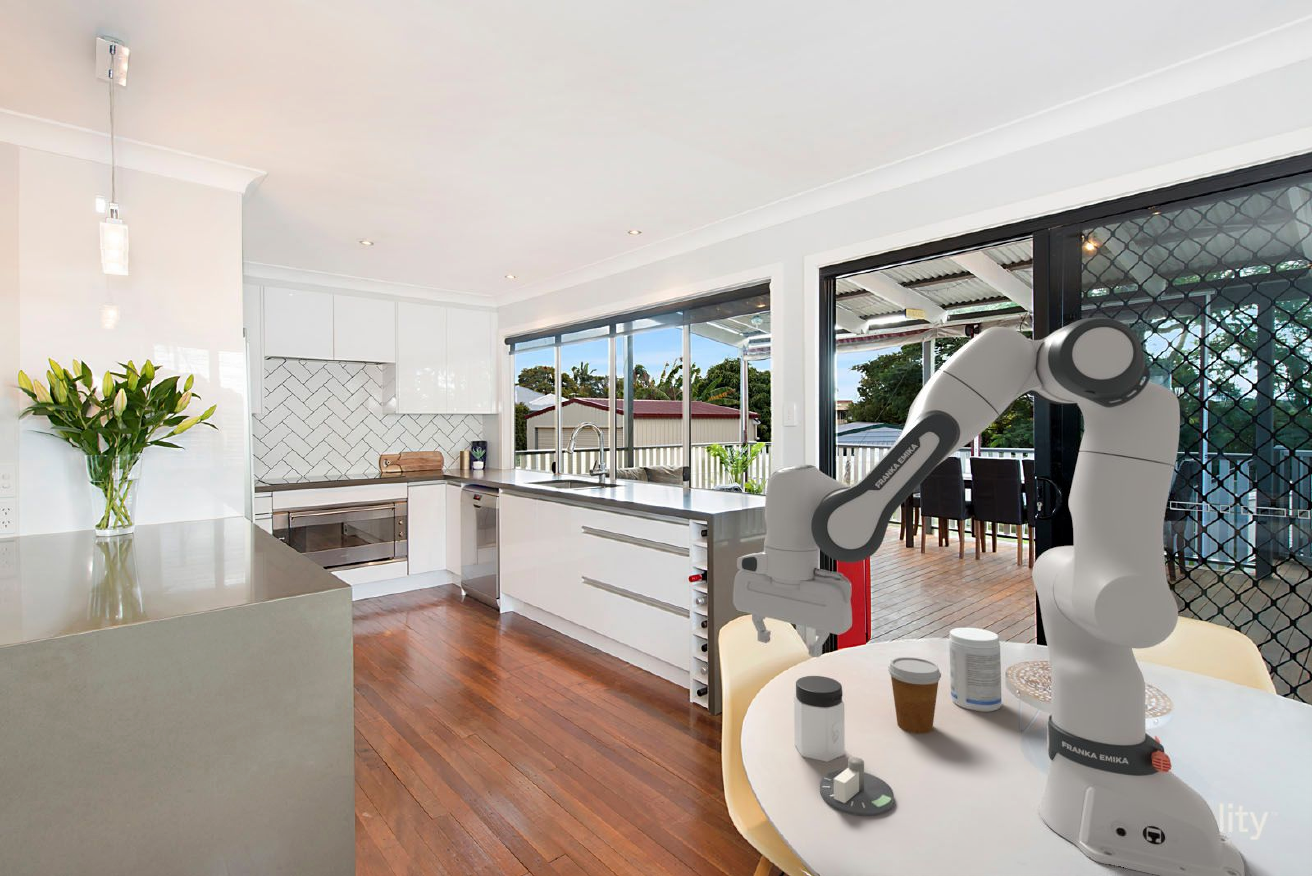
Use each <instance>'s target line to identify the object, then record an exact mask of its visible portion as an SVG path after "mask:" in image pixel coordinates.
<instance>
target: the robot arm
mask: <svg viewBox="0 0 1312 876" xmlns="http://www.w3.org/2000/svg"><path fill="white" fill-rule="evenodd" d="M1144 354H1145V353H1144V350H1143V346H1142V343H1141V341H1140V339H1139V337H1138V335H1137V334H1136V332H1135V331H1134V330H1133V329H1132V328H1131V327H1130V326H1128V325H1127V324H1126V323H1124V322H1122V321H1120V320H1117V319H1113V318H1108V317H1088V318H1087V317H1086V318H1082V319H1079V320H1075V321H1074V322H1071V323H1069V324H1068V325H1066V326H1063V327H1061V328H1059V329H1057V330H1054V331H1053V332H1052V333H1050V334H1049V335H1048V336H1046V337H1044V338H1042V339H1036V340H1035V339H1031V338H1027V337H1026V336H1025V335H1024V334H1023V333H1021V332H1019V331H1017V330H1015V329H1013V328H1010V327H1006V326H991V327H989V328H986V329H984V330H982V331H981V332H979V333H977V334H976V336H974V337H973V338H971V339H970V340H969V341H968V342H966V343H965V344H964V345H962V346H961V347H960V348H958V350H956V351H955V352H954V353H953V354H952V355H951V356H950V357H949V358H948V359H947V360H946V361H945V362H944V363H943V364H942V365H941V366H940V367H939V368H938V369H937V370H936V371H935V372H934V373H933V374H932V376H931V377H930V378H929V379H928V380H927V381H926V383H925V384H924V385H923V387H922V388H921V390H920V391H919V392H918V393H917V395H916V397H915V399H914V400H913V402H912V403H911V405H910V407H909V411H908V414H907V418H906V422H905V424H904V426H903V429H902V431H901V433H900V435H899V436H898V438H897V439H896V441H895V442H894V443H893V444H892V445H891V447H890V448H889V449H888V450H887V451H886V453H884V454H883V456H881V458H880V459H879V460H878V461H877V463H875V464H874V465H873V466H872V468H871V469H870V470H869V471H868V472H867V473H866V474H865V475H864V476H863V477H862V479H861V480H859V481H858V482H857V483H855V484H854V485H852V486H851V485H849V484H846V483H844V482H840V481H838V480H837V479H835V478H833V477H831V476H828V474H825V473H823V472H822V471H821V470H819V468H817V466H815V465H812V464H804V465H803V464H800V465H799V464H798V465H793V466H786V467H781V468H779V469H777V470H775V471H774V472H773V473H772V474H771V475H770V477H769V478H768V481H767V485H766V491H765V492H766V493H765V504H764V506H765V507H764V521H765V526H766V534H765V538H764V542H763V550H759V551H756V552H753V553H749V554H746V555H745V554H744V555H742V556H740V557H738V558H737V560H736V567H737V569H738V572H736V574H735V576H734V582H733V592H732V602H733V603H732V604H733V606H734V607H735V609H736V610H737V611H739V612H743V613H747V614H751V620H752V623H753V625H754V627H755V630H756V632H757V641H758V642H760V643H764V644H767V643H770V641H771V632H772V631H771V630H769V629H767V627H766V625H765V622H764V620H765V619H767V618H768V619H772V620H776V621H781V622H784V623H788V624H793V625H795V626H801V627H804V628H808V629H809V628H810V629H812V630H814V633H815V634H814V635H815V636H816V637H817V639H816V641H813V642H812V643H810V644H808V655H809V656H811V657H815V658H820V657H821V656H822V655H823V645H824V644H825V642H826V641H827V639H828V637H829V636H830V634H833V635H838V636H839V635H842V634H844V633H846V632H847V631H849V629H851V628H852V625H853V610H852V604H851V603H852V601H851V598H852V592H853V591H852V588H853V587H852V583H851V581H850V579H848V577H846V576H845V575H844V574H843V573H841V572H838V571H829V570H827V569H821V568H819V567H820V566H819V565H820V564H819V563H820V551H821V552H822V553H823V554H824V555H826V556H827V557H828V558H831V559H832V560H835V561H837V562H841V563H847V564H848V563H849V564H850V563H859V562H863V561H864V560H867V559H869V558H870V557H872V556H873V555H874V554H875V553H876V552H877V551H878V550H879V549H880V547H881V545H882V543H883V542H884V539H885V535H886V533H887V530H888V527H889V524H890V520H891V519H892V517H893V515H894V513H895V512H896V511H897V509H899V507H900V506H901V505H902V504H903V503H904V502H905V500H907V498H908V497H909V496H910V495H911V494H912V493H914V491H915V489H916V488H918V486H920V484H921V483H923V482H924V480H925V479H926V478H927V476H929V475H930V474H931V473H932V472H933V471H934V469H936V467H937V466H939V465H940V464H941V463H942V462H944V461H946V459H948V458H949V457H950V456H952V455H954V454H955V453H956V452H957V451H960V449H962V448H963V447H965V446H966V445H968V444H969V443H970V442H972V441H973V440H974V439H976V438H977V437H978V436H979V435H980V434H982V433H983V432H984V431H985V430H986V429H987V428H989V427H990V426H991V425H992V424H993V423H994V422H995V421H996V420H997V419H998V417H1000V416H1001V415H1002V413H1003V412H1004V411H1005V410H1006V409H1007V408H1009V406H1010V405H1011V404H1013V402H1014V401H1015V400H1017V399H1018V398H1019V397H1020V396H1022V395H1024V394H1027V395H1029V396H1032V397H1035V398H1037V399H1039V400H1041V401H1045V402H1047V403H1051V404H1055V405H1069V404H1077V406H1078V408H1079V409H1080V411H1081V414H1082V416H1083V422H1084V423H1083V430H1084V431H1083V434H1082V439H1081V442H1080V446H1079V449H1078V450H1079V451H1078V456H1077V460H1076V464H1075V470H1074V474H1073V478H1072V482H1071V488H1070V491H1069V492H1070V493H1069V496H1068V508H1069V509H1068V510H1069V512H1070V516H1071V520H1072V528H1073V529H1072V530H1073V531H1072V532H1073V545H1064V546H1063V545H1062V546H1056V547H1053V548H1049V549H1048V550H1046V551H1044V552H1042V553H1041V555H1039V556H1038V557H1037V559H1036V561H1034V564H1033V566H1032V571H1031V572H1032V575H1031V577H1032V578H1031V579H1032V582H1033V585H1034V587H1035V591H1036V593H1037V596H1038V601H1039V608H1040V613H1041V615H1040V616H1041V619H1042V626H1043V631H1044V636H1045V641H1046V644H1047V645H1046V646H1047V651H1048V656H1049V664H1050V665H1049V667H1050V694H1051V695H1050V698H1051V699H1050V700H1051V703H1050V704H1051V707H1050V708H1051V709H1050V710H1051V714H1050V715H1049V716H1048V721H1047V726H1046V744H1047V746H1046V747H1047V749H1046V750H1047V752H1048V753H1047V754H1048V757H1049V765H1048V773H1047V779H1046V784H1045V788H1044V792H1043V797H1042V799H1041V802H1040V805H1039V809H1038V811H1039V815H1040V817H1041V819H1042V820H1043V821H1044V823H1045V824H1046V825H1047V826H1048V827H1049V828H1050V829H1052V831H1054V832H1055V833H1056V834H1058V835H1060V836H1061V837H1062V838H1064V839H1066V840H1067V841H1069V842H1071V843H1072V844H1074V845H1075V846H1076V847H1078V849H1079V850H1081V852H1082V853H1083V855H1085V856H1087V857H1088V858H1089V857H1090V858H1091V860H1092V861H1095V862H1097V863H1101V864H1106V865H1109V864H1112V865H1111V866H1114V865H1115V866H1114V867H1118V866H1121V867H1120V868H1123V867H1124V869H1129V870H1133V871H1137V872H1141V873H1147V874H1151V875H1156V876H1246V872H1245V865H1244V861H1243V857H1242V856H1241V853H1240V851H1239V849H1238V848H1237V846H1236V845H1235V844H1234V843H1233V841H1232V840H1231V839H1230V838H1229V837H1228V836H1227V835H1225V834H1224V833H1223V832H1222V831H1220V829H1219V824H1218V823H1217V819H1216V816H1215V815H1214V812H1213V810H1212V809H1211V807H1210V806H1209V804H1208V802H1207V801H1206V800H1205V799H1204V797H1203V796H1202V795H1201V794H1200V793H1199V792H1197V791H1196V790H1195V789H1194V788H1192V787H1191V786H1189V784H1187V783H1186V782H1185V781H1183V780H1182V779H1180V777H1179V776H1177V775H1176V774H1175V773H1173V772H1172V771H1171V770H1172V763H1171V759H1170V757H1169V756H1168V754H1167V753H1165V747H1164V746H1163V744H1161V741H1160V740H1159V737H1157V735H1154V738H1153V737H1152V736H1150V734H1147V733H1146V682H1145V677H1144V675H1143V672H1142V670H1141V669H1140V667H1139V665H1138V661H1137V659H1136V657H1135V655H1134V652H1133V649H1138V650H1140V649H1147V648H1148V649H1149V648H1151V647H1155V646H1158V645H1160V644H1161V643H1163V642H1165V641H1166V640H1167V639H1168V638H1169V637H1170V635H1172V634H1173V632H1174V630H1175V629H1176V626H1177V623H1178V620H1179V609H1178V608H1179V607H1178V603H1177V601H1176V599H1175V596H1174V595H1173V593H1172V591H1171V589H1170V586H1169V583H1168V578H1167V573H1166V560H1165V546H1164V522H1165V514H1166V510H1167V505H1168V504H1167V503H1168V499H1169V494H1170V489H1171V484H1172V480H1173V479H1172V478H1173V476H1174V470H1175V465H1176V461H1177V458H1178V457H1177V456H1178V449H1179V442H1180V429H1181V428H1180V426H1181V423H1180V422H1181V413H1180V401H1179V399H1178V397H1177V395H1176V394H1175V393H1174V392H1173V391H1171V390H1170V389H1169V388H1168V387H1165V386H1163V385H1162V384H1159V383H1156V382H1152V381H1150V379H1151V371H1150V369H1149V366H1148V364H1147V362H1146V359H1145V355H1144ZM1144 377H1145V380H1143V378H1144ZM1090 858H1089V859H1090Z"/></svg>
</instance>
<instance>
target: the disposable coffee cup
mask: <svg viewBox="0 0 1312 876" xmlns="http://www.w3.org/2000/svg"><path fill="white" fill-rule="evenodd" d="M889 663H890V664H889V666H888V668H887V669H888V671H887V672H888V673H889V675H890V677H891V679H890V680H891V686H892V687H891V688H892V693H893V701H894V707H895V715H896V723H897V724H896V725H897V727H899V729H901V730H903V731H905V732H908V733H912V734H921V735H923V734H930V733H931V732H932V731H933V728H934V721H935V713H936V712H935V711H936V703H937V696H938V690H939V689H938V688H939V681H940V680H941V678H942V673H941V671H940V669H939V665H937V664H936V663H935V662H933V661H931V660H927V659H924V658H920V657H911V656H901V657H895V658H893V659H892V660H890V662H889Z"/></svg>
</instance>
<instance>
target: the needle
mask: <svg viewBox="0 0 1312 876" xmlns="http://www.w3.org/2000/svg"><path fill="white" fill-rule="evenodd" d="M843 770H844V771H843V772H842V773H840V774H839V775H838V776H837V777H835V778H834V799H836V800H838V801H841V802H843V803H846V802H847V801H848V800H849V799H850V798H852V797H853V796H854V795H855V794H856V793H858V792H859V791H862V790H864V773H865V761H864V760H863V759H862V758H860V757H853V756H852V757H849V758H848V759H847V768H845V769H843Z"/></svg>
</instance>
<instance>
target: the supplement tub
mask: <svg viewBox="0 0 1312 876" xmlns="http://www.w3.org/2000/svg"><path fill="white" fill-rule="evenodd" d="M948 638H949V675H950V679H949V680H950V699H951V700H952V702H953V703H954V704H956V706H959V707H960V708H963V709H967V710H970V711H975V712H979V713H980V712H985V713H986V712H987V713H988V712H994V711H998V710H999V709H1000V708H1001V707H1002V703H1003V702H1002V663H1001V662H1002V661H1001V645H1000V638H999V635H998V634H997V633H995V632H994V631H991V630H987V629H983V628H975V627H955V628H952V629H951V630H950V631H949V637H948Z"/></svg>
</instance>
